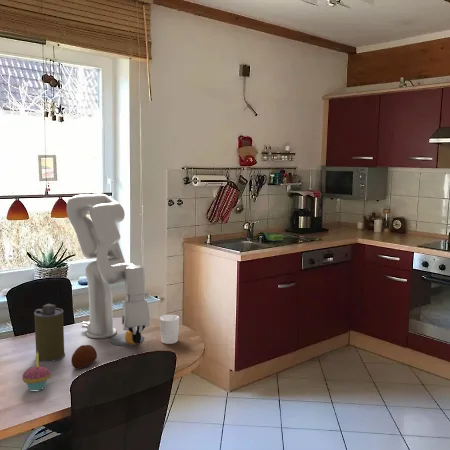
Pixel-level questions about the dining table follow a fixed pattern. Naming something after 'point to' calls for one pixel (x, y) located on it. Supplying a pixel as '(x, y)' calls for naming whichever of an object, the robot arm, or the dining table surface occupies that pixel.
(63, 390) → the dining table surface
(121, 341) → the disc
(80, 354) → the potato
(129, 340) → the ball
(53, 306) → the canister
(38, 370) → the cupcake
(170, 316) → the white cup
